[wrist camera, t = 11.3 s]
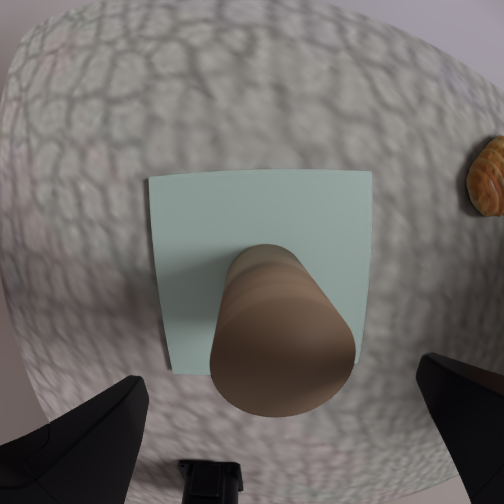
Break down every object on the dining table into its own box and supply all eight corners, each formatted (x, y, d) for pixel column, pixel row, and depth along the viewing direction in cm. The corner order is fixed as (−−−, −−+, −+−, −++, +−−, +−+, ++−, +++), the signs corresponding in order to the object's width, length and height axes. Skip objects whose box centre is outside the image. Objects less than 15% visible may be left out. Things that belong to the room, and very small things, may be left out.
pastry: (473, 234, 18) (502, 242, 14) (451, 159, 17) (482, 156, 13) (518, 194, 17) (544, 197, 14) (501, 131, 16) (527, 127, 12)
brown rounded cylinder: (303, 316, 18) (345, 409, 9) (228, 320, 18) (217, 419, 9) (305, 242, 17) (364, 293, 8) (224, 245, 17) (201, 302, 8)
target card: (355, 359, 20) (357, 363, 19) (174, 369, 19) (173, 373, 19) (367, 172, 17) (371, 171, 16) (151, 177, 16) (148, 177, 16)
